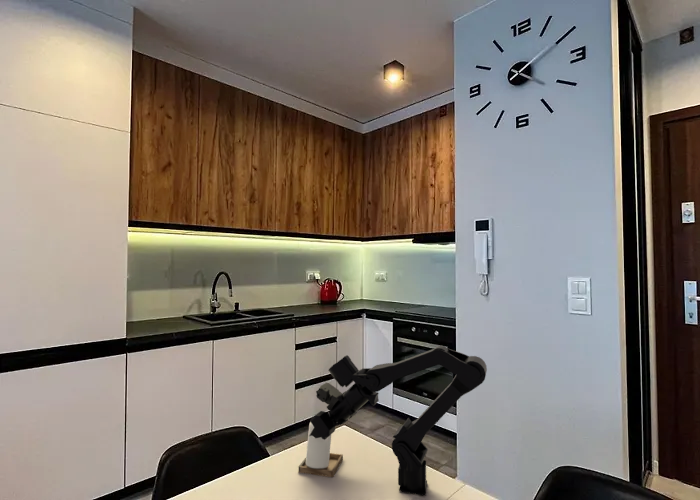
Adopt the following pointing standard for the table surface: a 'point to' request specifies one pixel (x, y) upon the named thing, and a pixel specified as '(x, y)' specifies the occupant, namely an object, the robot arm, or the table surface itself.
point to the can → (317, 451)
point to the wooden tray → (329, 471)
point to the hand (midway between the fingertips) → (316, 432)
